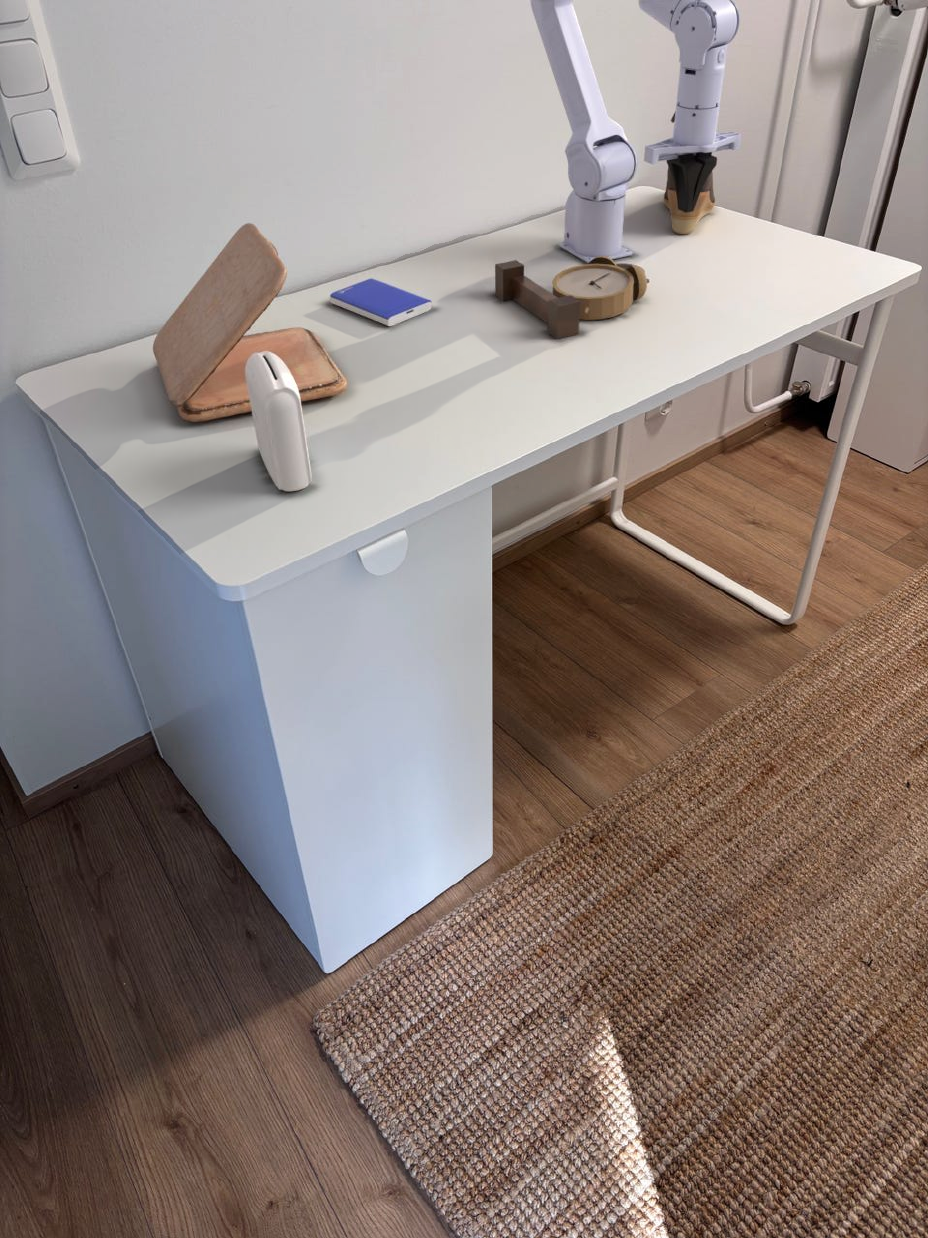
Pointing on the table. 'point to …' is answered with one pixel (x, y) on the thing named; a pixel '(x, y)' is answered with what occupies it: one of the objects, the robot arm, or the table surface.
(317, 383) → the case
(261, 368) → the photo printer
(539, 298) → the dumbbell
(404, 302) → the hard drive
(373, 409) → the table surface
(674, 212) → the boot
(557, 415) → the table surface
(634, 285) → the alarm clock
